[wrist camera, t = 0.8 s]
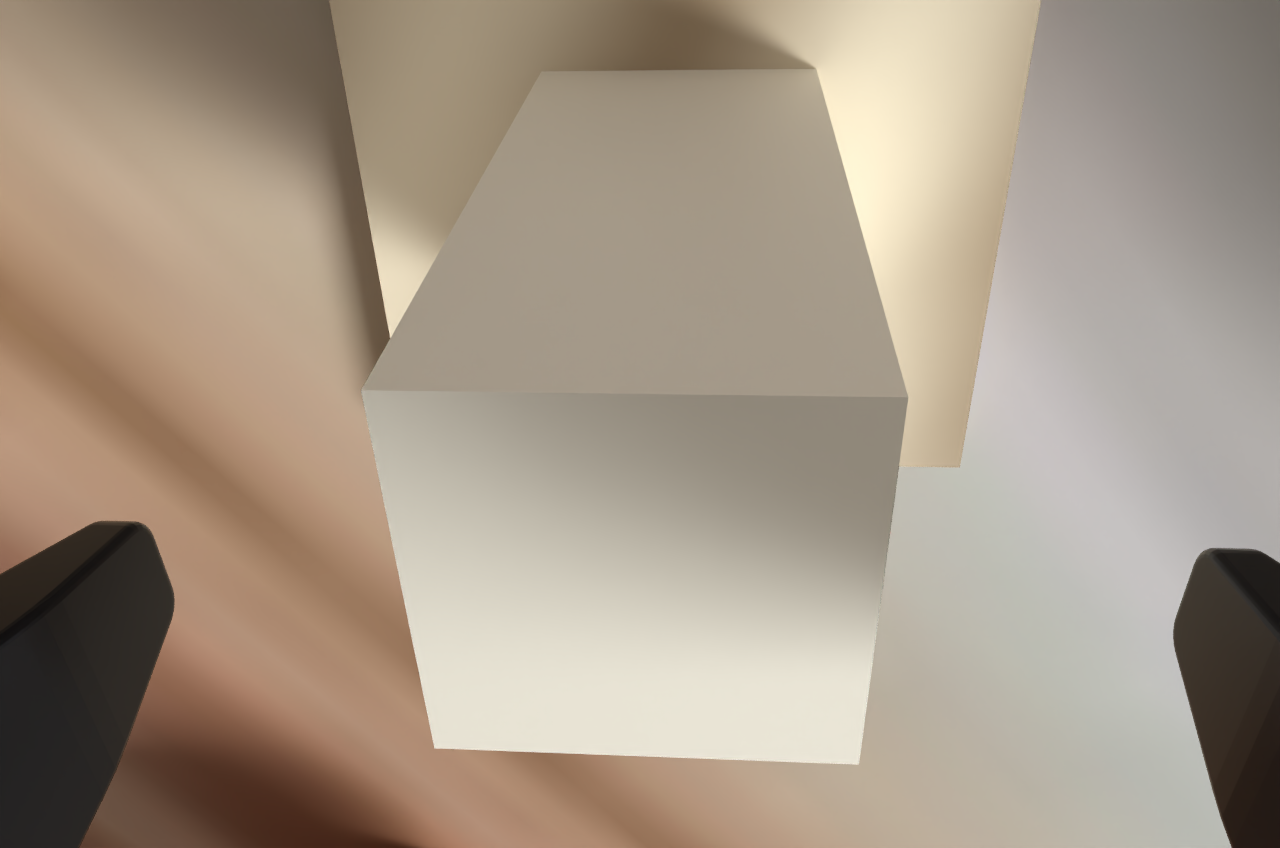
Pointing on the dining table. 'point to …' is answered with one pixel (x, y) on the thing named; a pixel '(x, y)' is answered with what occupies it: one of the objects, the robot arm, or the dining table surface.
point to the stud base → (720, 40)
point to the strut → (647, 430)
